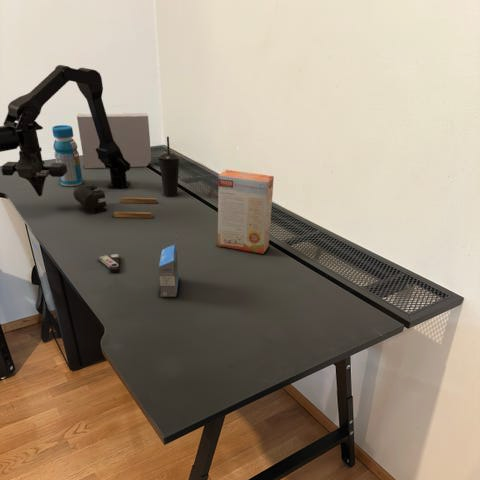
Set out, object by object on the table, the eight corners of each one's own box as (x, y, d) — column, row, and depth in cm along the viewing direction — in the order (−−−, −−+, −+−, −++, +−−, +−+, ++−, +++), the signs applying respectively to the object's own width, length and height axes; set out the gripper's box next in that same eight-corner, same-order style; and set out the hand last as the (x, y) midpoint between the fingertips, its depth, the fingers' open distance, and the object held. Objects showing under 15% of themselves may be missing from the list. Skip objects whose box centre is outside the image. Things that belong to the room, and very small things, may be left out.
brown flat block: (122, 201, 158) (121, 197, 157) (156, 202, 158) (156, 198, 158) (114, 217, 146) (113, 212, 145) (151, 218, 147) (151, 213, 146)
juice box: (163, 278, 115) (160, 233, 108) (178, 278, 116) (176, 233, 108) (160, 297, 108) (156, 250, 101) (176, 297, 108) (174, 250, 101)
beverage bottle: (65, 188, 166) (54, 130, 155) (56, 182, 171) (45, 125, 160) (87, 184, 171) (78, 128, 159) (78, 178, 176) (69, 123, 164)
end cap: (75, 205, 153) (71, 185, 149) (95, 201, 157) (92, 182, 153) (86, 215, 147) (83, 194, 143) (107, 211, 150) (104, 191, 146)
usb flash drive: (119, 271, 117) (119, 268, 116) (98, 273, 116) (97, 269, 115) (119, 256, 124) (119, 253, 123) (99, 257, 123) (99, 254, 122)
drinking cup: (183, 191, 168) (181, 134, 157) (178, 198, 162) (176, 140, 151) (162, 190, 169) (159, 133, 157) (157, 197, 163) (153, 138, 151)
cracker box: (269, 246, 133) (275, 175, 121) (263, 255, 128) (268, 181, 116) (224, 238, 136) (226, 168, 124) (217, 246, 132) (217, 174, 120)
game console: (85, 164, 191) (77, 113, 179) (150, 162, 197) (147, 113, 185) (84, 168, 186) (76, 116, 175) (151, 166, 192) (148, 115, 181)
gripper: (-13, 152, 133) (1, 203, 142) (52, 154, 134) (62, 205, 143) (2, 142, 142) (14, 191, 151) (63, 144, 143) (71, 193, 152)
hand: (40, 195), depth 149 cm, fingers closed
